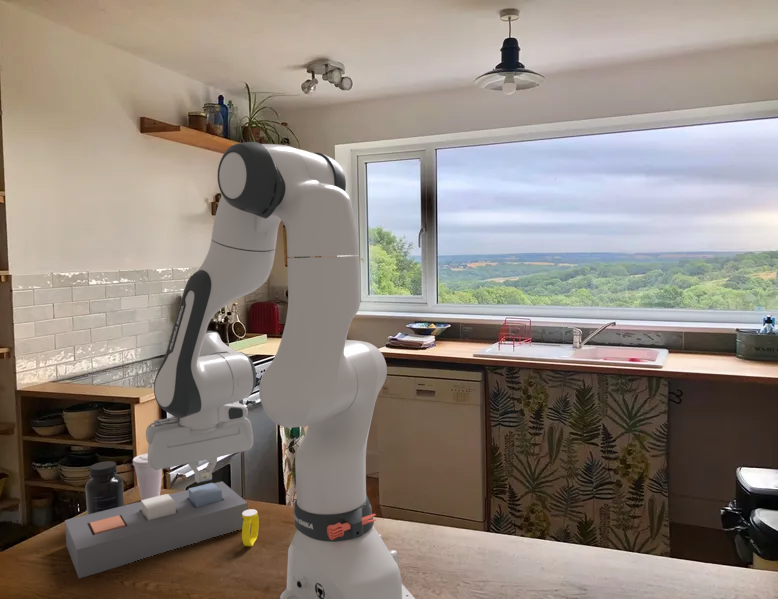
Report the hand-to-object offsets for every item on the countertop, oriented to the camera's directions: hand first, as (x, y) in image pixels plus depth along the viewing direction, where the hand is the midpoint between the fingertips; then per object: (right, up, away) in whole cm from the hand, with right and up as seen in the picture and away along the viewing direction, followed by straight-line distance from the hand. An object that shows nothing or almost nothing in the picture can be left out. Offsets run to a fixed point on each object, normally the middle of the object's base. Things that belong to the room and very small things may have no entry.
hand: (203, 480), depth 119 cm
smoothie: (-16, -8, +13) cm, 22 cm away
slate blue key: (0, -6, 0) cm, 6 cm away
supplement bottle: (-20, -9, +2) cm, 22 cm away
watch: (+11, -9, -8) cm, 17 cm away
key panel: (-7, -9, -5) cm, 13 cm away
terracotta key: (-14, -9, -10) cm, 20 cm away
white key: (-7, -7, -5) cm, 11 cm away
